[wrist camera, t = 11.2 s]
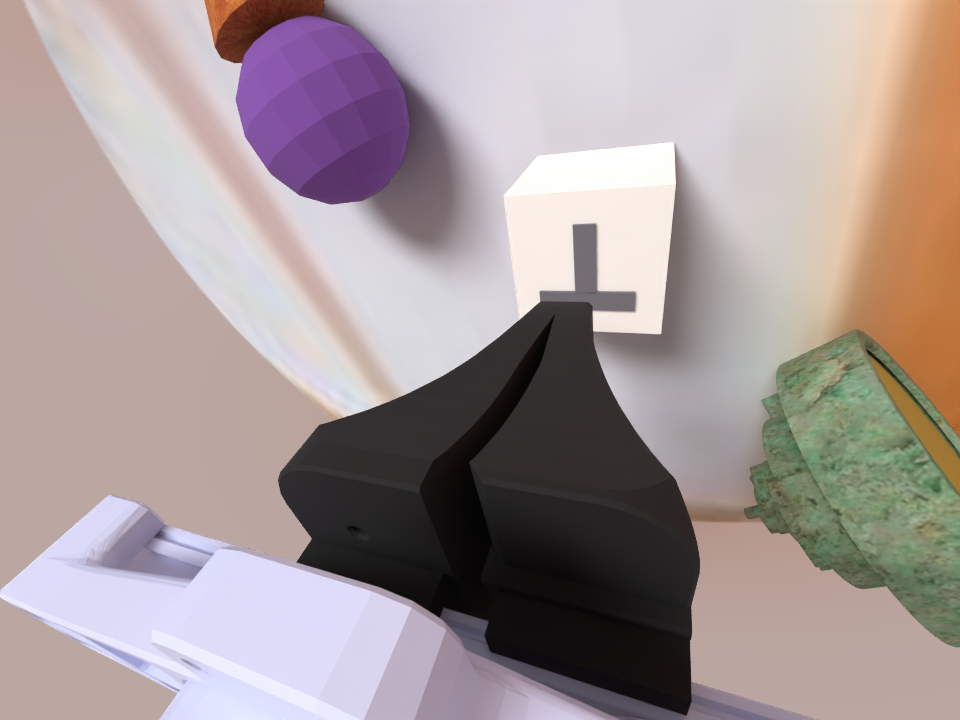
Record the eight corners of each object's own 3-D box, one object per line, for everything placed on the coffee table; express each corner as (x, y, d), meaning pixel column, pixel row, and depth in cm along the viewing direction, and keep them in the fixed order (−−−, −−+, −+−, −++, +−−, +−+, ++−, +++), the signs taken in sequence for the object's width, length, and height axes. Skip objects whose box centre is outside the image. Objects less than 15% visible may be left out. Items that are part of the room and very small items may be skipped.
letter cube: (674, 141, 16) (675, 185, 12) (662, 270, 18) (660, 338, 15) (538, 155, 17) (502, 197, 14) (547, 271, 20) (520, 331, 17)
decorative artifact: (964, 436, 19) (1156, 716, 11) (794, 485, 23) (851, 705, 16) (824, 284, 17) (945, 503, 9) (669, 370, 21) (669, 561, 14)
